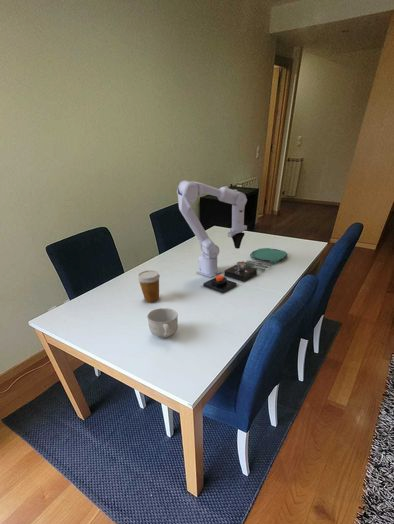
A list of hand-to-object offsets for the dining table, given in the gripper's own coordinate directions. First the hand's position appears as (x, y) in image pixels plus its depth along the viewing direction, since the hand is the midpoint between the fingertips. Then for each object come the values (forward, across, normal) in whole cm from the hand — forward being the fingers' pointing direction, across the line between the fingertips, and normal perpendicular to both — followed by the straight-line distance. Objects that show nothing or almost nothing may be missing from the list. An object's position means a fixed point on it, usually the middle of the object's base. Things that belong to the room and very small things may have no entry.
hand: (237, 248), depth 149 cm
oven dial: (+7, +8, +7) cm, 13 cm away
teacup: (+10, +68, +12) cm, 70 cm away
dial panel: (+10, +8, +7) cm, 15 cm away
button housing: (+10, +24, +5) cm, 26 cm away
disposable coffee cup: (+10, +51, -12) cm, 53 cm away
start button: (+7, +24, +5) cm, 25 cm away
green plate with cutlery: (+11, -16, +7) cm, 21 cm away
